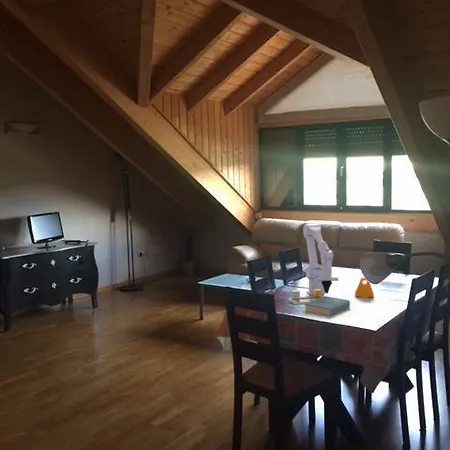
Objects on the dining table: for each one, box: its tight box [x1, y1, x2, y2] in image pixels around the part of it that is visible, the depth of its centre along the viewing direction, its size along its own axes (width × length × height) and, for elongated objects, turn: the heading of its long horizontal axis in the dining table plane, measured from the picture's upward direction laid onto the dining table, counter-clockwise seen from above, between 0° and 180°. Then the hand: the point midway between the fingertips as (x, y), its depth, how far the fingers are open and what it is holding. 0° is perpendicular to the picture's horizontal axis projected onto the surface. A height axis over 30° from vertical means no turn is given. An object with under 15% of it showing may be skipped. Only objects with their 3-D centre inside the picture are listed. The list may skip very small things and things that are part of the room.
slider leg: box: [312, 289, 323, 298], centre depth 330 cm, size 4×7×5 cm, turn 14°
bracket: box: [354, 276, 375, 298], centre depth 341 cm, size 11×7×12 cm, turn 79°
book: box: [303, 295, 351, 318], centre depth 309 cm, size 23×16×5 cm
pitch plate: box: [288, 289, 325, 305], centre depth 328 cm, size 22×9×6 cm, turn 104°
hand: (326, 293), depth 333 cm, fingers closed
